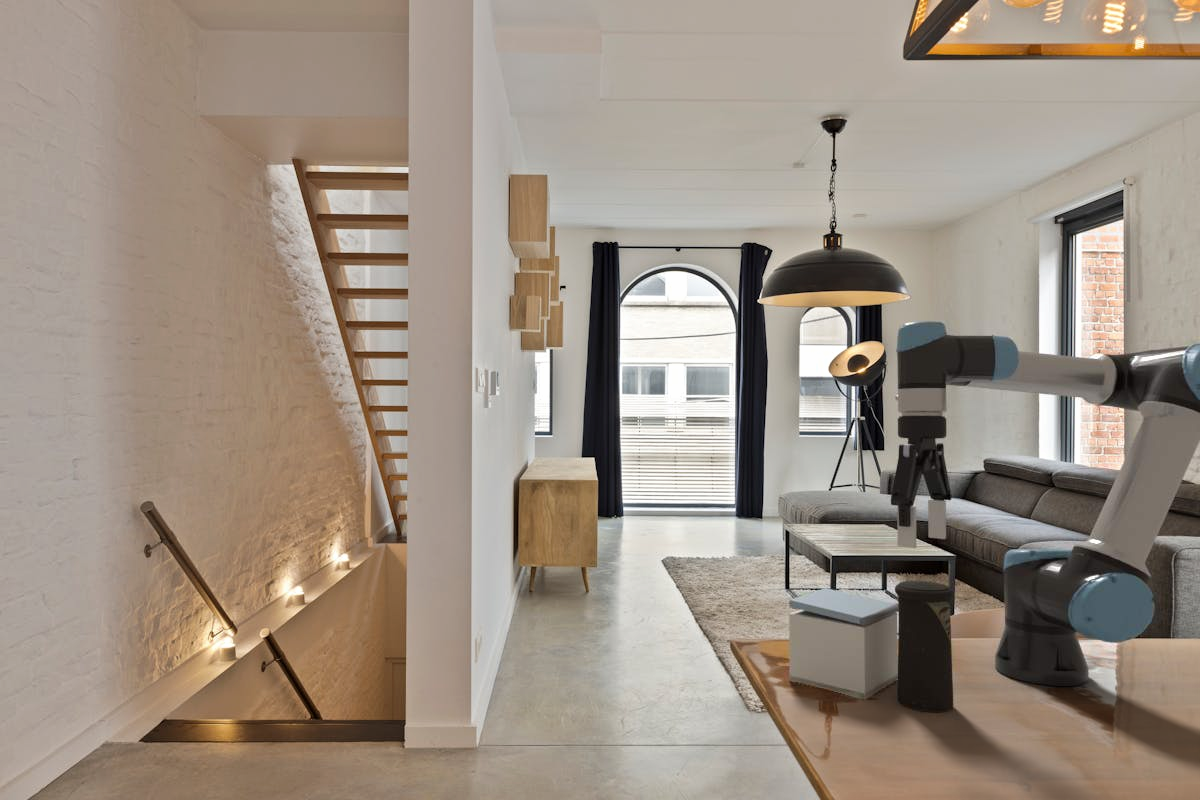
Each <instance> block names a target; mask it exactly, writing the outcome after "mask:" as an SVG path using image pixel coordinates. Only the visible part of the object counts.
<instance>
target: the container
mask: <svg viewBox="0 0 1200 800" xmlns="http://www.w3.org/2000/svg"><path fill="white" fill-rule="evenodd" d="M894 592H895V594H896V596H897V597H898V600H897V601H898V610H899V611H898V612H897V613H898V625H897V653H898V680H897V681H896V684H897V687H896V689H897V690H896V696H897V697H896V698H897V702H898V703H899V704H901V706H904V707H907V708H909V709H912V710H917V711H922V712H928V713H929V712H930V713H931V712H933V713H944V712H948V711H950V710H952V709H953V708H954V686H953V685H954V684H953V682H954V681H953V679H954V678H953V658H952V657H953V653H952V652H953V651H952V650H953V649H952V626H951V625H952V624H951V623H952V622H951V600H952V598H953V596H954V591H953V589H952V588H950V587H949V585H946V584H943V583H939V582H934V581H929V580H928V581H927V580H905V581H900V582H899V583H897V584H896V585H895V587H894Z"/></svg>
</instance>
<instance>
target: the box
mask: <svg viewBox="0 0 1200 800" xmlns="http://www.w3.org/2000/svg"><path fill="white" fill-rule="evenodd" d="M788 615H789V616H788V618H789V620H788V623H789V624H788V625H789V627H788V628H789V629H788V631H789V632H788V633H789V638H788V640H789V643H788V644H789V646H788V647H789V649H788V650H789V651H788V652H789V653H788V654H789V658H788V659H789V662H788V663H789V667H788V668H789V672H788V673H789V675H788V676H789V677H788V678H789V682H792V683H796V682H798V683H797V684H800V683H804V684H809V685H814V686H819V687H823V688H826V689H829V690H832V691H835V692H839V693H842V694H841V695H843V694H846V695H845V696H847V695H849V696H848V697H851V696H852V698H855V699H860V700H863V699H864V700H863V701H866V700H867V699H869V698H870V697H872V696H874V695H875V694H877V693H878V692H877V691H879V690H880V691H882V690H883V689H882V688H883V687H885V686H887V685H888V684H890V683H892V682H893V683H895V682H897V681H896V680H897V679H898V612H896V613H894V614H892V615H889V616H887V617H885V618H883V619H880V620H878V621H876V622H874V623H871V624H869V625H867V626H862V625H861V624H857V623H853V622H849V621H845V620H841V619H837V618H833V617H829V616H825V615H821V614H817V613H813V612H809V611H805V610H801V609H797V610H796V611H792V612H790V613H789V614H788ZM894 681H895V682H894ZM893 683H892V684H893ZM804 684H803V685H804ZM890 685H891V684H890ZM887 687H888V686H887ZM885 688H886V687H885ZM881 689H882V690H881ZM880 691H879V692H880ZM835 692H834V693H835ZM876 692H877V693H876ZM839 693H838V694H839ZM874 693H875V694H874ZM873 694H874V695H873ZM868 697H869V698H868ZM865 699H866V700H865Z"/></svg>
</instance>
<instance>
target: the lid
mask: <svg viewBox="0 0 1200 800" xmlns="http://www.w3.org/2000/svg"><path fill="white" fill-rule="evenodd" d="M788 603H789V604H788V607H790V608H793V609H797V610H805V611H809V612H813V613H817V614H821V615H825V616H829V617H833V618H837V619H841V620H845V621H849V622H853V623H857V624H861V625H862V626H867V625H869V624H871V623H874V622H876V621H878V620H880V619H883V618H885V617H887V616H889V615H892V614H894V613H899V612H898V611H899V610H898V603H894V602H889V601H884V600H880V599H876V598H871V597H868V596H863V595H859V594H853V593H850V592H845V591H839V590H835V589H831V588H826V587H824V588H821V589H819V590H816V591H813V592H810V593H806V594H803V595H800V596H797V597H795V598H791V599H789V601H788Z"/></svg>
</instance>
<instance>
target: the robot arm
mask: <svg viewBox="0 0 1200 800" xmlns="http://www.w3.org/2000/svg"><path fill="white" fill-rule="evenodd" d="M946 328H947V327H946V324H945V323H943V322H941V321H933V320H931V321H930V320H929V321H927V320H926V321H924V320H923V321H913V322H906V323H904V324H902V325H901V326H900V327H899V328H898V331H897V342H896V356H897V357H896V358H897V361H896V362H897V395H896V396H895V401H897V412H898V413H901V415H900V416H898V418H897V436H898V437H899V438H901V439H907V443H900V444H899V445H898V459H897V464H896V469H895V474H894V480H893V486H892V491H891V497H890V505H891V506H896V507H897V512H896V513H897V526H896V527H897V547H900V548H901V547H902V548H909V549H916V548H917V506H914V504H915V500H916V496H917V493H918V490H919V487H920V483H921V481H922V476H923V478H924V482H925V485H926V488H927V491H928V493H929V498H930V499H928V500H927V503H928V504H927V506H928V507H927V511H928V514H927V516H928V517H927V519H928V522H927V525H928V526H927V527H928V530H927V531H928V532H927V533H928V534H927V535H928V538H931V539H940V540H946V539H947V501H951V500H952V499H953V498H952V497H953V496H952V493H951V486H950V481H949V475H948V471H947V464H946V459H945V454H944V453H945V445H944V443H943V442H936V439H945V438H946V437H947V418H946V417H945V415H944V414H943V413H946V412H947V386H955V387H968V388H979V389H981V388H982V389H991V390H999V391H1011V392H1020V393H1030V394H1040V395H1041V394H1042V395H1051V396H1062V397H1071V398H1082V399H1083V401H1085V402H1086V403H1088V404H1089V405H1090V404H1091V405H1096V406H1097V405H1098V406H1105V407H1106V406H1107V407H1113V408H1117V409H1118V408H1119V409H1123V410H1130V411H1135V412H1139V413H1140V415H1141V416H1142V421H1141V424H1140V426H1139V428H1138V431H1137V433H1136V435H1135V437H1134V439H1133V442H1132V443H1131V446H1130V447H1129V450H1128V452H1127V453H1126V457H1125V459H1124V461H1123V462H1122V465H1121V467H1120V469H1119V472H1118V474H1117V477H1116V478H1115V480H1114V483H1113V485H1112V487H1111V488H1110V492H1109V494H1108V495H1107V498H1106V500H1105V502H1104V504H1103V506H1102V508H1101V510H1100V513H1099V515H1098V518H1097V520H1096V522H1095V523H1094V526H1093V529H1092V531H1091V532H1090V535H1089V537H1088V539H1087V540H1086V541H1082V542H1079V543H1076V544H1074V545H1073V547H1072V549H1062V548H1061V549H1060V548H1014V549H1010V550H1008V551H1007V552H1006V553H1005V554H1004V560H1003V568H1002V570H1003V578H1004V579H1003V580H1004V581H1003V583H1004V584H1003V585H1004V588H1003V589H1004V591H1003V595H1004V628H1003V632H1002V634H1001V637H1000V640H999V644H998V646H997V649H996V651H995V655H994V668H995V669H996V670H997V671H998V672H999V673H1000V674H1003V675H1005V676H1008V677H1010V678H1012V679H1016V680H1018V681H1019V680H1020V681H1022V682H1027V683H1032V684H1033V683H1034V684H1037V685H1045V686H1047V685H1048V686H1056V687H1057V686H1058V687H1073V686H1082V685H1085V684H1087V683H1088V682H1089V679H1090V677H1089V666H1088V662H1087V661H1086V658H1085V655H1084V652H1083V650H1082V646H1081V643H1080V641H1079V638H1078V635H1077V634H1080V635H1082V636H1084V637H1085V638H1088V639H1091V640H1097V641H1101V642H1103V643H1104V642H1105V643H1113V644H1117V643H1123V642H1124V643H1125V642H1127V641H1130V640H1133V639H1135V638H1137V637H1138V636H1140V635H1141V634H1142V633H1143V632H1144V631H1145V630H1146V629H1147V628H1148V627H1149V625H1150V623H1151V622H1152V620H1153V617H1154V614H1155V613H1154V612H1155V606H1156V605H1155V602H1154V601H1153V599H1152V598H1154V595H1153V592H1152V590H1151V588H1150V587H1149V586H1148V584H1149V582H1150V580H1151V577H1152V575H1151V574H1150V571H1149V569H1148V567H1147V565H1146V561H1147V559H1148V556H1149V554H1150V553H1151V550H1152V548H1153V546H1154V543H1155V541H1156V538H1157V536H1158V534H1159V532H1160V530H1161V527H1162V526H1163V524H1164V522H1165V519H1166V517H1167V514H1168V512H1169V510H1170V508H1171V505H1172V503H1173V501H1174V499H1175V496H1176V494H1177V493H1178V490H1179V488H1180V486H1181V484H1182V482H1183V479H1184V477H1185V475H1186V472H1187V470H1188V468H1189V466H1190V463H1191V462H1192V459H1193V457H1194V455H1195V453H1196V450H1197V448H1198V446H1199V443H1200V343H1193V344H1192V345H1187V346H1179V347H1178V346H1177V347H1169V348H1159V349H1149V350H1145V351H1144V350H1143V351H1137V352H1130V353H1121V354H1105V353H1096V354H1093V355H1091V356H1089V357H1081V356H1071V355H1070V356H1069V355H1060V354H1051V353H1050V354H1049V353H1040V352H1029V351H1019V348H1018V346H1017V343H1016V342H1015V341H1014V340H1013V339H1012V338H1010V337H1008V336H999V335H994V334H990V335H953V334H947V333H948V332H947V329H946Z"/></svg>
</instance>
